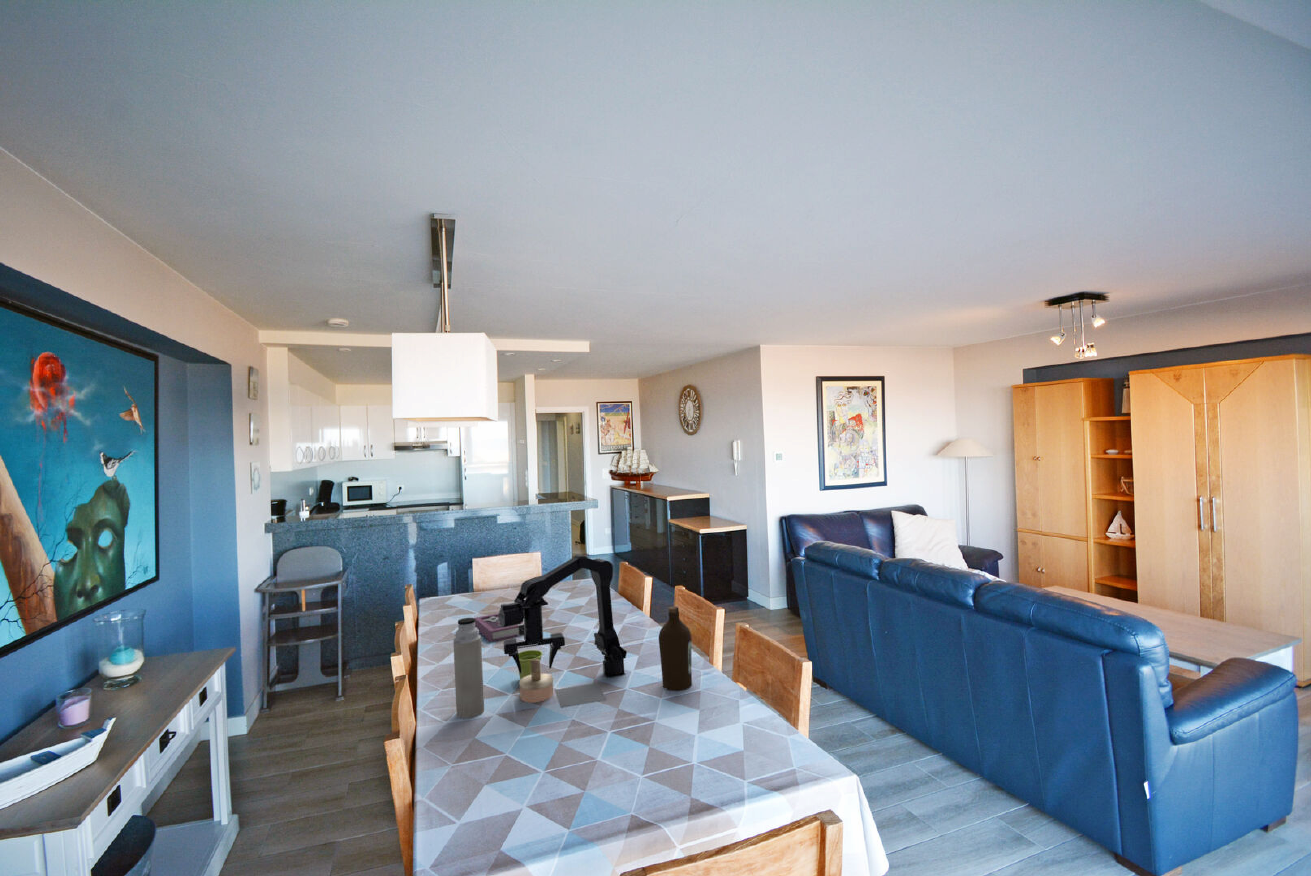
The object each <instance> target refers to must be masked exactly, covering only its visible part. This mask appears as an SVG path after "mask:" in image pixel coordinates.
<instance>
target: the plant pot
mask: <svg viewBox="0 0 1311 876" xmlns="http://www.w3.org/2000/svg"><path fill="white" fill-rule="evenodd" d="M518 654H519V660H520V665H521V673H520V672H519V669H518V668H517V669H518V673H519V675H518V676H519V681H520V680H521V679H522V678H523V677H525V676H528V675H531V660H534V659H539V660H540V661H541V660H542V656H543V655H544V654H543V652H542V651H540V650H536V649H529V650H528V649H527V650H524V651H520V652H518Z"/></svg>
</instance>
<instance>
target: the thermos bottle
mask: <svg viewBox="0 0 1311 876" xmlns="http://www.w3.org/2000/svg"><path fill="white" fill-rule="evenodd" d="M474 618H475V617H464V618H460V619H458V621H457V624H458V625H457V627H458V629H457V630H456V631H455V635H454V637H455V638H454V639H453V660H454V661H453V663H454V686H455V687H454V688H455V706H456V707H455V708H456V710H455V712H456V717H458V718H459V719H471V718H475V717H478V716H480V715H482V714H483V713H484V711H485V700H484V699H485V695H484V694H485V693H484V676H483V653H482V635H480V632H479V631H478V628H476V627H475V619H474Z"/></svg>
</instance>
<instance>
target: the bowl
mask: <svg viewBox="0 0 1311 876" xmlns="http://www.w3.org/2000/svg"><path fill="white" fill-rule="evenodd" d="M519 694H520V696H519V697H520V701H523V702H525V703H532V704H533V703H538V702H539V703H540V702H543V701H546V700H549V699H550V698H551V697H553V695H554V682H553V683H552V684H551V685H549V686H547V687H545V688H541V689H536V690H527V689H523V688H521V687H520V686H519Z"/></svg>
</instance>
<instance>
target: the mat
mask: <svg viewBox="0 0 1311 876" xmlns="http://www.w3.org/2000/svg"><path fill="white" fill-rule="evenodd" d="M554 691H555V694H556V697H557V701H558V703H559V706H560V708H561V709H562V708H567V707H573V706H574V707H575V706H579V705H584V704H585V705H586V704H590V703H596V702H601V701H606V700H608V699H607V698H606V696H605V694H604V691H603V690H602V688H601V685H599V682H593V683H587V684H586V683H585V684H581V685H574V686H569V687H564V688H559V689H554Z"/></svg>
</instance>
